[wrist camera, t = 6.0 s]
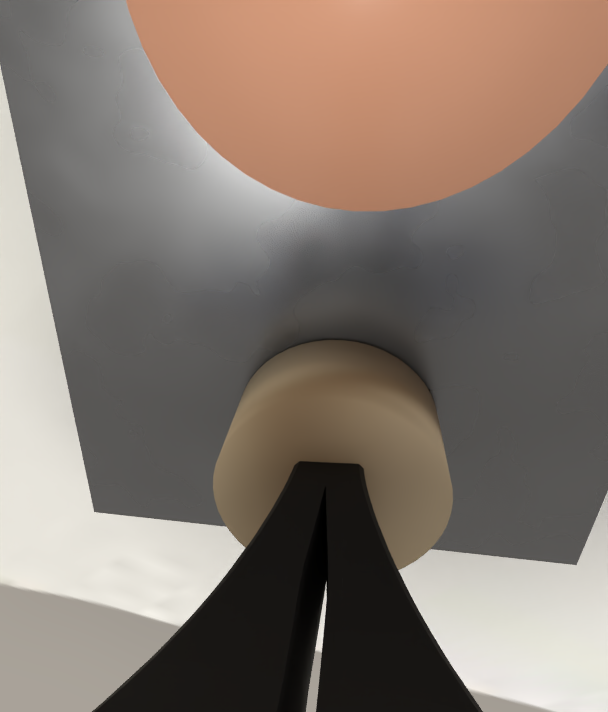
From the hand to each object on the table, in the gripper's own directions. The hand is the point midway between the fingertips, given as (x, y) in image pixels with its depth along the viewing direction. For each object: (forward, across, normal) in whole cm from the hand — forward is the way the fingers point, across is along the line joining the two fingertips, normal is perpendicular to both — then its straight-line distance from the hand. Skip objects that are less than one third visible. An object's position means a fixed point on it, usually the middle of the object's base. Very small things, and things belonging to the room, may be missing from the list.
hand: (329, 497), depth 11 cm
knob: (+2, 0, 0) cm, 2 cm away
